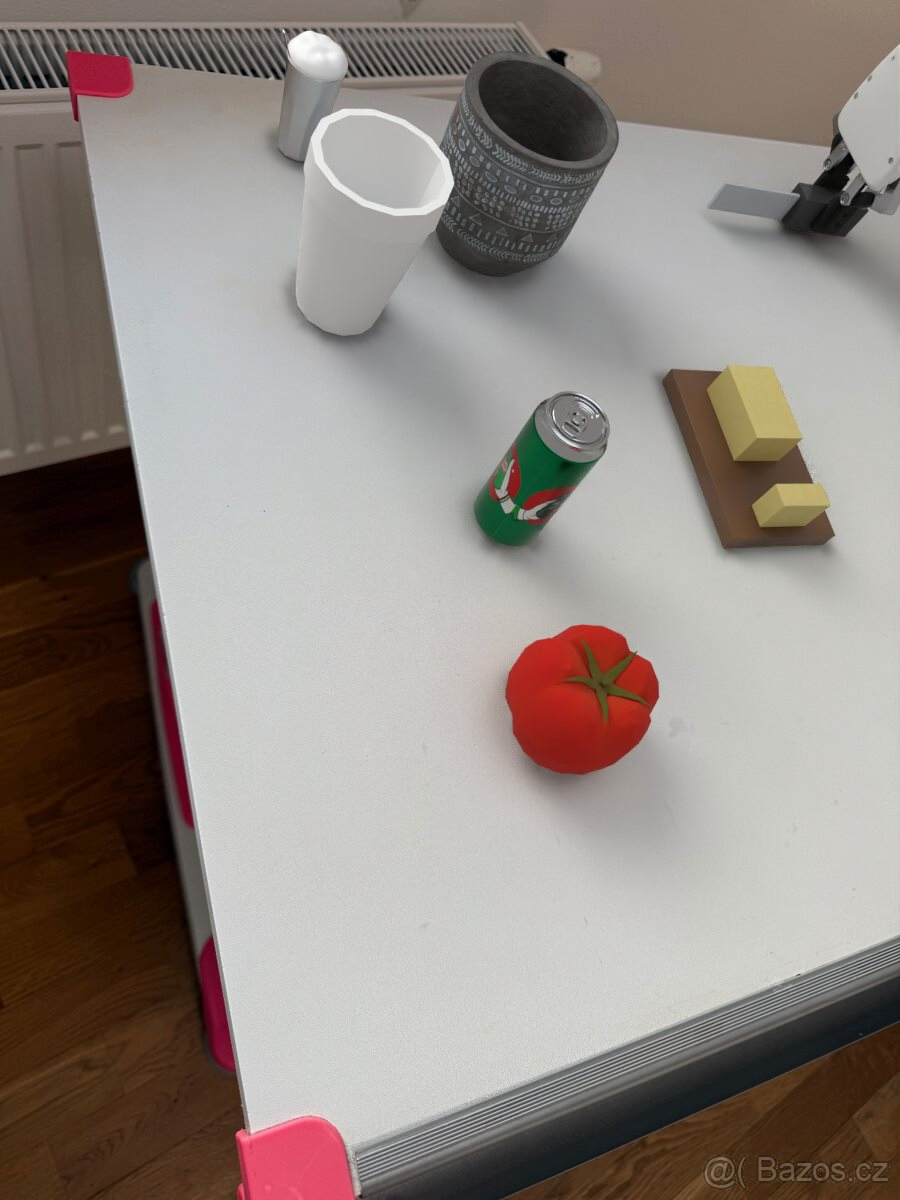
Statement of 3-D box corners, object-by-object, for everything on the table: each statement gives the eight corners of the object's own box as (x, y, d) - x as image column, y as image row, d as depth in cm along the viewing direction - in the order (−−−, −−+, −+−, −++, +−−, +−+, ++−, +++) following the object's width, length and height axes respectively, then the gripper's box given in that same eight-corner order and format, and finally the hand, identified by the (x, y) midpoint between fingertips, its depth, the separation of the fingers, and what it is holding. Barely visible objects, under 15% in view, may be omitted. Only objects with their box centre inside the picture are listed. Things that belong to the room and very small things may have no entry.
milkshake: (251, 126, 78) (273, 8, 70) (313, 127, 80) (342, 13, 72) (269, 168, 77) (293, 53, 68) (331, 168, 79) (362, 56, 71)
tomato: (507, 792, 60) (558, 756, 53) (479, 659, 63) (524, 609, 57) (637, 779, 63) (700, 743, 57) (604, 653, 67) (659, 606, 60)
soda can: (548, 517, 70) (628, 419, 60) (517, 563, 67) (595, 469, 57) (491, 476, 70) (562, 371, 60) (458, 521, 67) (526, 419, 57)
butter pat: (796, 504, 77) (822, 483, 75) (805, 526, 77) (831, 505, 74) (750, 505, 76) (775, 483, 73) (759, 527, 75) (785, 506, 72)
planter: (384, 201, 79) (433, 60, 68) (493, 173, 85) (554, 39, 75) (470, 312, 77) (534, 183, 66) (575, 274, 83) (650, 152, 72)
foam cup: (250, 270, 71) (283, 119, 60) (352, 242, 76) (400, 98, 65) (319, 367, 69) (366, 230, 58) (420, 333, 74) (480, 200, 63)
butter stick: (749, 391, 82) (773, 366, 79) (778, 461, 79) (803, 438, 76) (706, 389, 80) (728, 364, 77) (733, 461, 77) (757, 437, 74)
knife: (836, 219, 100) (860, 193, 97) (844, 237, 99) (869, 211, 96) (703, 198, 93) (725, 168, 90) (711, 216, 92) (733, 187, 89)
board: (757, 384, 85) (767, 373, 83) (823, 544, 79) (835, 535, 77) (661, 380, 81) (671, 368, 80) (723, 548, 75) (734, 538, 73)
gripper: (1030, 126, 80) (874, 284, 96) (950, -2, 86) (816, 165, 102) (965, 113, 77) (815, 278, 93) (887, -19, 83) (759, 156, 99)
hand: (817, 218), depth 97 cm, fingers closed on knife, 2 cm apart
